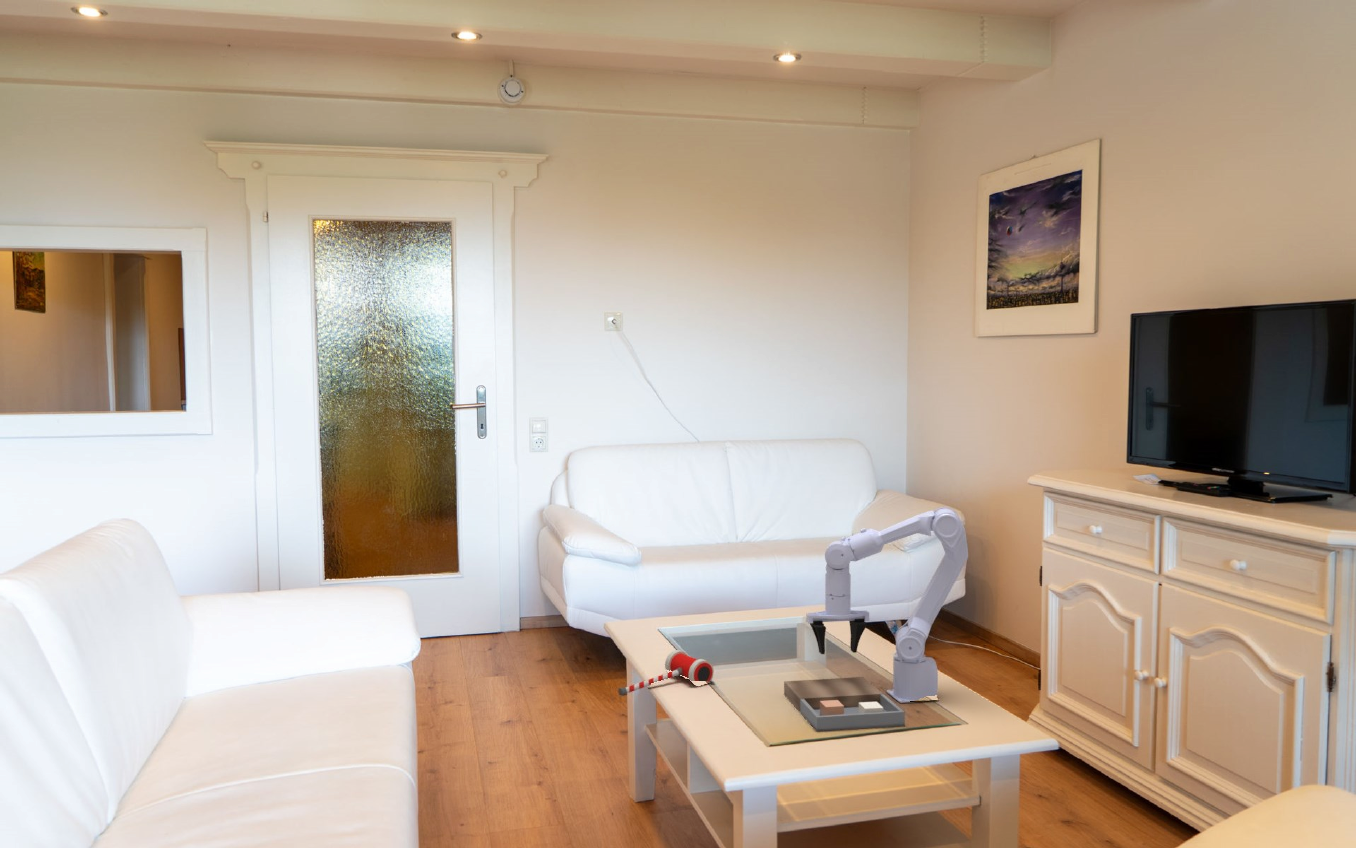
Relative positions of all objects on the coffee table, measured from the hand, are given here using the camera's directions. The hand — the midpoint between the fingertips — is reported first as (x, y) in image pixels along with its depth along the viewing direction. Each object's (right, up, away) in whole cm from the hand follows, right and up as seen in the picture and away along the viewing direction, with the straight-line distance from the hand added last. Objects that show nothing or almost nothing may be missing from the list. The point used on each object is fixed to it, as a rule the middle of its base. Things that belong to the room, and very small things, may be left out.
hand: (837, 652), depth 223 cm
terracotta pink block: (-4, -8, -18) cm, 20 cm away
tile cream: (+4, -8, -19) cm, 21 cm away
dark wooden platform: (-2, -10, -5) cm, 11 cm away
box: (0, -10, -17) cm, 20 cm away
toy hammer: (-39, -10, +7) cm, 41 cm away
